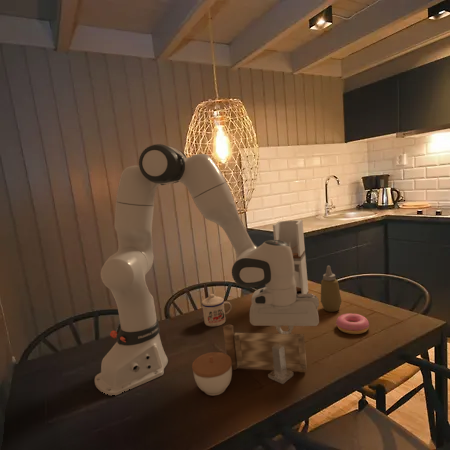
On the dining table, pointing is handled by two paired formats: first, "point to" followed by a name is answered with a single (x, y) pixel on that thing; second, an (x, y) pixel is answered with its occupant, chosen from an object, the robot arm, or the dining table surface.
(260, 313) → the robot arm
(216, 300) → the teacup with lid
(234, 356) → the hinge post
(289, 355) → the wooden panel
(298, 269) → the tiered white shelf
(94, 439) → the dining table surface
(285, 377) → the stop post
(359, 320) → the doughnut
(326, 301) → the squeeze bottle
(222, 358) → the lidded jar
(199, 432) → the dining table surface
